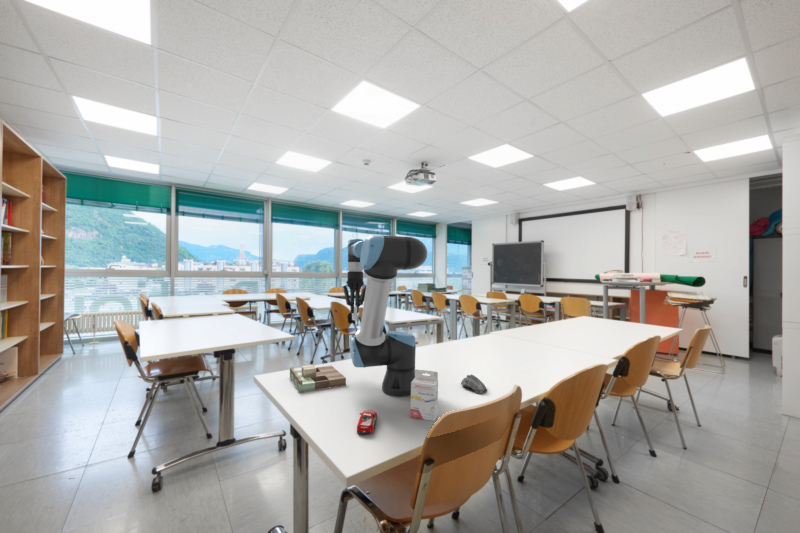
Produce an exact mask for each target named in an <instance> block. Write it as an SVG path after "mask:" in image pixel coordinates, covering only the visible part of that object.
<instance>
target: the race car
mask: <svg viewBox="0 0 800 533" xmlns="http://www.w3.org/2000/svg"><path fill="white" fill-rule="evenodd" d="M359 415H360V416H359V419H358V422H357V426H356V433H358V434H368V435H369V434H373V433H374V430H375V428H376V423H377V420H378V412H377V411H375V410H372V409H371V410H370V409H368V410H363V411H362V412H360V413H359Z"/></svg>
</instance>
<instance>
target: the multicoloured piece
mask: <svg viewBox="0 0 800 533" xmlns="http://www.w3.org/2000/svg"><path fill="white" fill-rule="evenodd" d="M315 367H316V366H315ZM301 374H302V368H300V369H294V368H293V367H292V366H290V367H289V378H290V380H291V382H292V384H294V387H295V388H296V389H297V391H298V393H305V391H306V392H311V391H318V390H324V389H330V388H329V387H331V388H336V387H335V386H337V387H341V385H343V386H347V384H346V383H347V377H345V375H343V374H342V373H341V372H340V371H338V369H336V368H335V367H334V366H333V365H326V366H318V367H316V376H315V377H308V378H304V377H303V376H302V375H301Z"/></svg>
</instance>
